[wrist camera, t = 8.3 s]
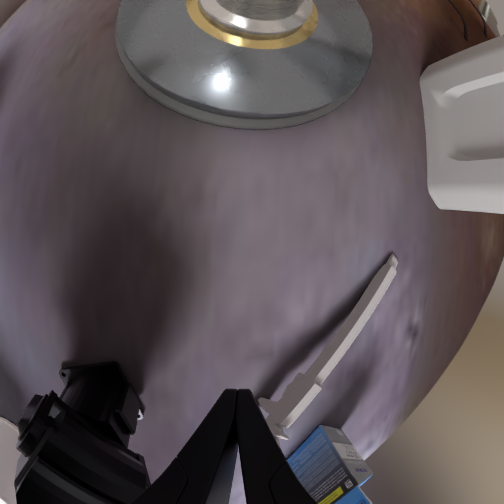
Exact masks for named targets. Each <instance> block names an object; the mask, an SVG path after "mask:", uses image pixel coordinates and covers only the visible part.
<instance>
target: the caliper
mask: <svg viewBox="0 0 504 504" xmlns="http://www.w3.org/2000/svg"><path fill="white" fill-rule="evenodd" d="M397 264H398V260H397V259H396V257H395V256H394V254H391V256H390V257H389V259H388V261H387V263H386V264H384V265H383V266H382V267H381V269H380V270H379V271H378V273H377V274H376V275H375V276H374V278H373V279H372V281H371V282H370V284H369V286H368V287H367V289H366V290H365V292H364V293H363V295H362V297H361V298H360V300H359V301H358V303H357V304H356V306H355V307H354V309H353V310H352V312H351V313H350V315H349V316H348V317H347V319H346V320H345V322H344V323H343V325H342V326H341V327H340V329H339V330H338V332H337V333H336V334H335V336H334V337H333V338H332V340H331V341H330V342H329V344H328V345H327V346H326V348H325V349H324V350H323V352H322V353H321V354H320V356H319V357H318V358H317V359H316V361H315V362H314V363H313V364H312V366H311V367H310V368H309V369H308V371H307V372H306V373H305V374H302V373H298V374H297V376H296V377H295V379H294V380H293V382H292V383H290V384H289V385H288V386H287V388H286V390H285V392H284V393H283V395H282V396H283V397H282V398H281V399H280V400H279V401H278V402H274V401H271V400H268V399H265V398H262V397H260V398H259V399H258V400H257V401H258V402H259V404H260V405H261V406H262V407H263V409H264V410H265V411H266V412H268V413H269V414H270V415H269V416H268V417H267V418H266V422H267V424H268V426H269V428H270V430H271V432H272V434H273V436H274V438H275V439H276V441H277V443H278V445H279V447H280V444H279V440H278V438H281V439H286V440H288V439H289V438H288V436H287V435H285V434H284V433H283V430H282V428H284V427H285V428H288V427H289V426H290V425H291V424H292V423H293V422H294V421H295V420H296V419H297V418H298V416H299V415H300V414H301V413H302V412H303V411H304V409H305V408H306V407H307V406H308V405H309V404H310V402H311V401H312V400H313V399H314V398H315V396H316V395H317V394H318V393H319V391H320V390H321V389H322V387H321V386H320V385H321V384H322V382H323V381H324V380H325V379H326V377H327V376H328V375H329V374H330V372H331V371H332V370H333V368H334V367H335V366H336V364H337V363H338V362H339V360H340V359H341V358H342V356H343V355H344V354H345V352H346V351H347V350H348V348H349V347H350V345H351V344H352V343H353V341H354V340H355V338H356V337H357V335H358V334H359V333H360V331H361V330H362V328H363V327H364V325H365V324H366V322H367V321H368V319H369V318H370V316H371V314H372V313H373V311H374V310H375V308H376V307H377V305H378V303H379V302H380V300H381V299H382V297H383V295H384V294H385V292H386V290H387V289H388V287H389V285H390V283H391V282H392V280H393V278H394V276H395V275H396V273H397V271H396V270H395V268H396V266H397ZM277 437H278V438H277Z"/></svg>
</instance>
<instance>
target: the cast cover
mask: <svg viewBox="0 0 504 504" xmlns="http://www.w3.org/2000/svg"><path fill="white" fill-rule="evenodd" d="M197 3H198V8H199V11H200V13H201V14H202V16H203V17H204V18H205V19H206V20H207V21H208V22H209V23H210V24H211V25H213V26H214V27H216V28H217V29H219V30H221V31H223V32H225V33H228V34H230V35H233V36H236V37H240V38H245V39H250V40H276V39H281V38H285V37H288V36H290V35H292V34H294V33H296V32H297V31H298V30H300V29H301V27H302V26H303V25H304V23H305V22H306V21H307V19H308V18H309V16H310V15H311V13H312V9H313V2H312V0H197Z"/></svg>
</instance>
